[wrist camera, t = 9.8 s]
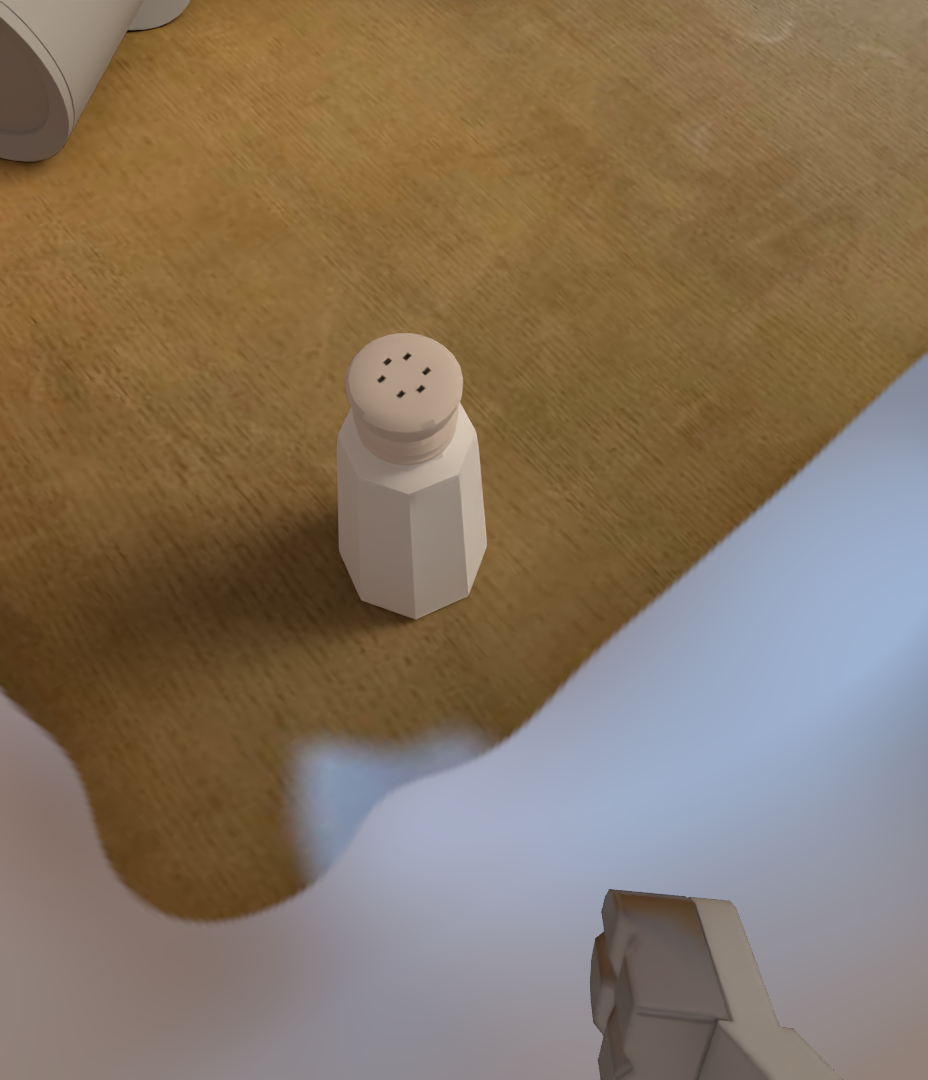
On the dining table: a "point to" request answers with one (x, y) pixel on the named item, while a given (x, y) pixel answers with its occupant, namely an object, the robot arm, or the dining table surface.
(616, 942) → the robot arm
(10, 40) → the elbow connector
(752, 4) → the dining table surface
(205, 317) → the dining table surface
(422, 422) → the pepper shaker
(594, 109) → the dining table surface
